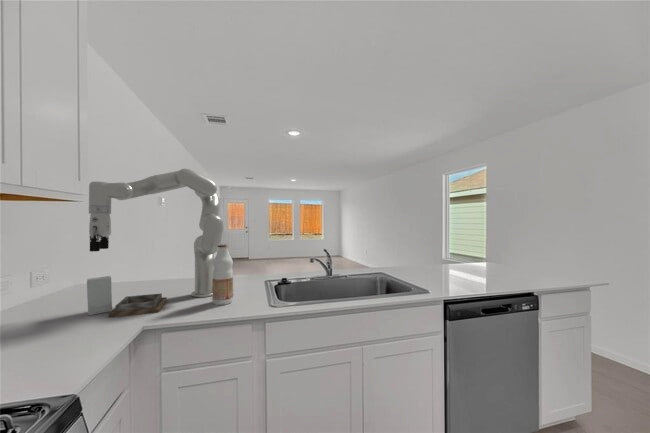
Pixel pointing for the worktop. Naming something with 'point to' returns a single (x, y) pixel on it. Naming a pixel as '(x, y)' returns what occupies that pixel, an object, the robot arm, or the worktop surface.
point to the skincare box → (99, 295)
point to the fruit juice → (222, 277)
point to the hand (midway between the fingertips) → (99, 249)
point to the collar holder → (139, 305)
